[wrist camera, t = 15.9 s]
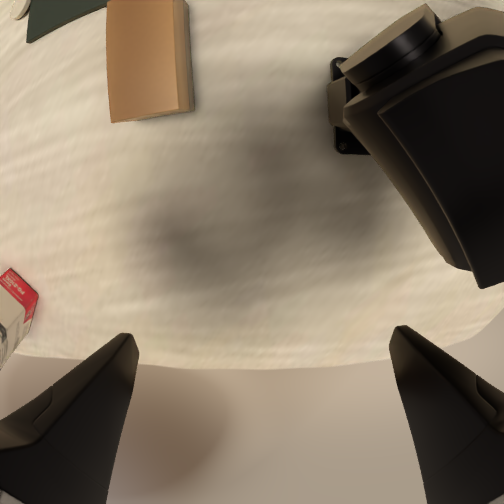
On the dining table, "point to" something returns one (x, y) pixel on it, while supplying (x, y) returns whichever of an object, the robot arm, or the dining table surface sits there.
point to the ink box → (14, 312)
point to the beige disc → (19, 9)
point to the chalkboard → (57, 14)
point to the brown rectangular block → (148, 59)
